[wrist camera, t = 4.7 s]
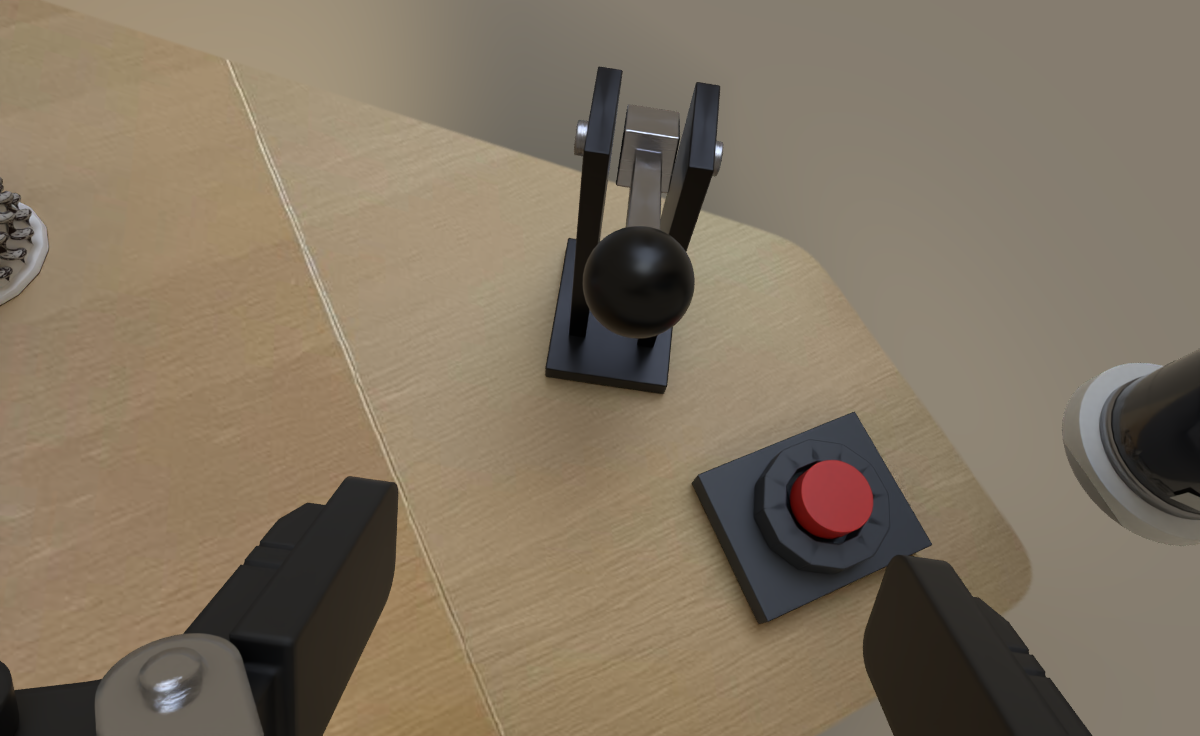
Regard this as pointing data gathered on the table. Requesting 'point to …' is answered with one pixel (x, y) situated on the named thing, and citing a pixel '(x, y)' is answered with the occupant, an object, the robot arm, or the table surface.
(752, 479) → the control block
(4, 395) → the table surface
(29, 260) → the decorative candle
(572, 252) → the bracket
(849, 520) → the button
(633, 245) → the lever
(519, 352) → the table surface
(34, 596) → the table surface
